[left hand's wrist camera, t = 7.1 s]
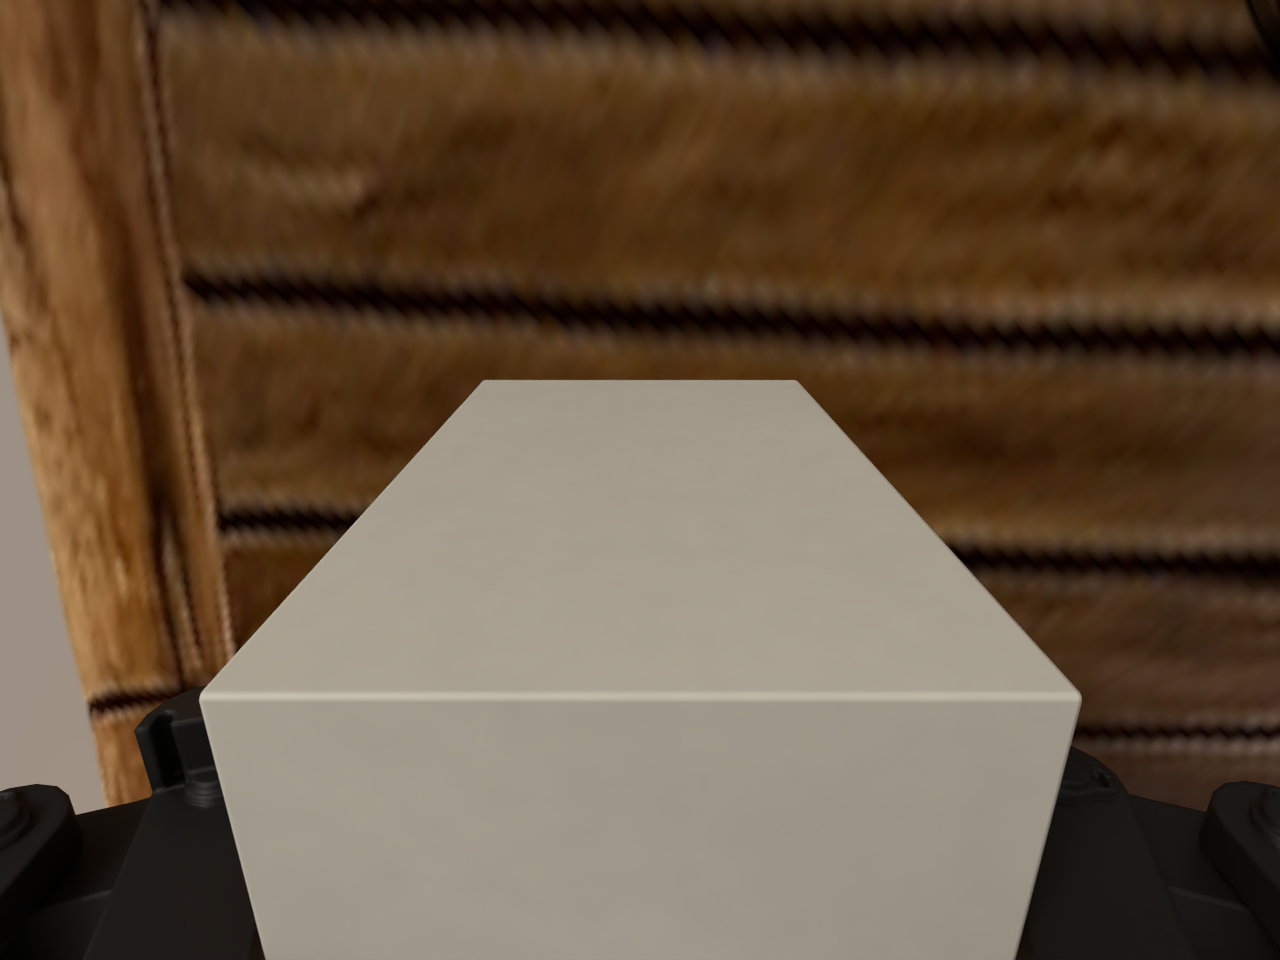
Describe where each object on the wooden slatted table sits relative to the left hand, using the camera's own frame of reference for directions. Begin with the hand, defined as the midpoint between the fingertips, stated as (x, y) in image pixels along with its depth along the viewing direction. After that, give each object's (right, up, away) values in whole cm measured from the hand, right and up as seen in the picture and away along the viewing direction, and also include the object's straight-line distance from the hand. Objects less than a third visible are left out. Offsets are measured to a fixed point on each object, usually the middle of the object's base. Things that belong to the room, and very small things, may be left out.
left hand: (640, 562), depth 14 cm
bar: (0, -8, +4) cm, 9 cm away
